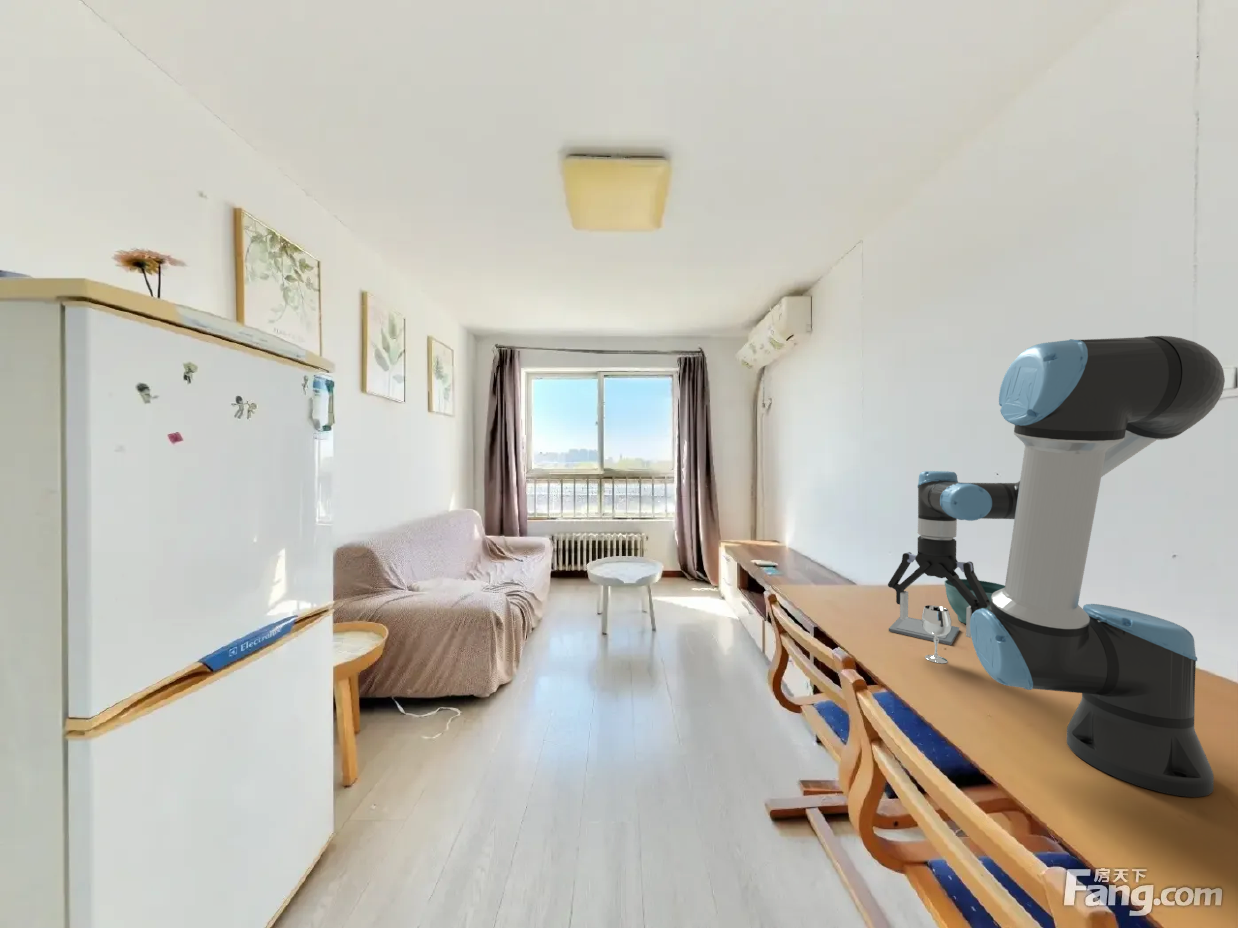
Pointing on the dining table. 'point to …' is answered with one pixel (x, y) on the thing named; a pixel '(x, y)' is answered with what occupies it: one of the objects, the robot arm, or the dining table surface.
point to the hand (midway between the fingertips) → (935, 626)
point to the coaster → (921, 630)
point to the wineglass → (936, 627)
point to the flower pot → (960, 603)
